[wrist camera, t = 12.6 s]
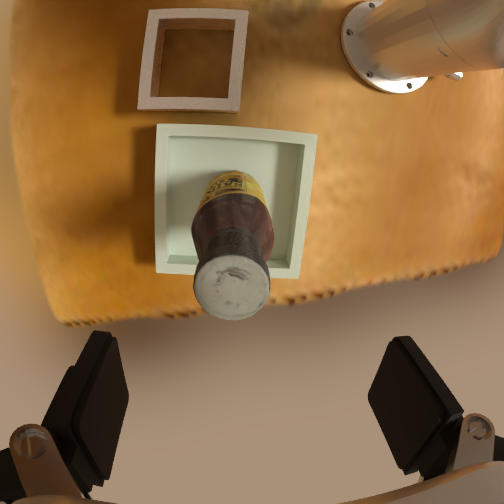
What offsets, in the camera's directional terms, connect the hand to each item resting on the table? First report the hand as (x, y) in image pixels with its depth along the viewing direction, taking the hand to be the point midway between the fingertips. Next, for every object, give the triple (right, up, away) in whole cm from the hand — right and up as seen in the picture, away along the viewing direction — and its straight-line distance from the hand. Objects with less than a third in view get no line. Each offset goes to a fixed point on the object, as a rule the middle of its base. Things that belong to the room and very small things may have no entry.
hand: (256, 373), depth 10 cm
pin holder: (-6, +24, +19) cm, 32 cm away
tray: (-2, +10, +26) cm, 28 cm away
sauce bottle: (-2, +10, +25) cm, 27 cm away
